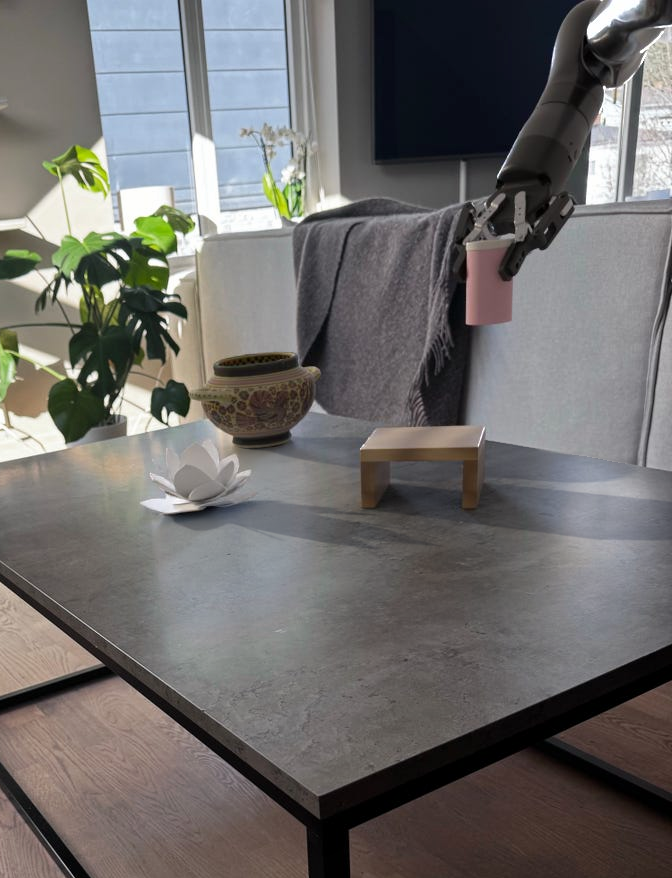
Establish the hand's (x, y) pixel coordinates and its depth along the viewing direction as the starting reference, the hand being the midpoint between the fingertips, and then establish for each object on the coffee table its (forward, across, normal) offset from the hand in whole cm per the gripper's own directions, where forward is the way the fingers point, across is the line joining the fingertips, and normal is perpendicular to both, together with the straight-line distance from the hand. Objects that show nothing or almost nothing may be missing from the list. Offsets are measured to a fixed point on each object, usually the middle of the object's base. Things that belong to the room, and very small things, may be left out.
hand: (481, 277), depth 106 cm
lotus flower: (+37, -21, -4) cm, 42 cm away
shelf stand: (+24, 0, +9) cm, 26 cm away
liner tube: (+2, 0, +5) cm, 5 cm away
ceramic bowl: (+16, -40, +17) cm, 46 cm away
